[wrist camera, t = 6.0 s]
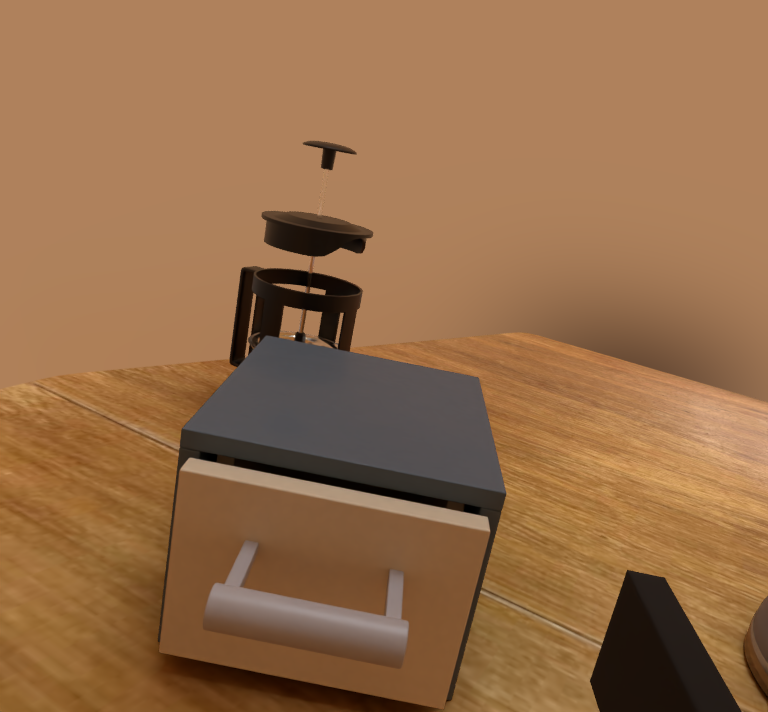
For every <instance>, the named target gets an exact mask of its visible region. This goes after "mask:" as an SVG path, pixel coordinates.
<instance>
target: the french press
mask: <svg viewBox="0 0 768 712" xmlns="http://www.w3.org/2000/svg"><path fill="white" fill-rule="evenodd" d="M303 144H304V145H308V146H313V147H318V148H323V155H322V164H321V168H323V169H324V175H323V181H322V188H321V194H320V200H319V206H318V213H317V214H312V213H304V212H279V211H265V212H263V213H262V218H263V219H265V220H267V222H266V230H265V238H264V242H266V243H267V244H269V245H271V246H273V247H276V248H279V249H282V250H286V251H290V252H294V253H298V254H302V255H307V256H311V257H310V264H309V271H308V272H307V271H301V270H293V269H278V268H277V269H276V268H270V269H264V268H260V267H257V266H253V267H244V268H242V270H241V275H240V283H239V291H238V298H237V307H236V314H235V322H234V330H233V337H232V345H231V352H230V364H231V365H233V366H236V367H238V366H239V365H240V364H241V363H242V362H243V361H244V359H245V350H246V343H247V336H248V328H249V321H250V313H251V306H252V299H253V293H255V294H256V303H255V310H254V317H253V324H252V331H251V336H250V337H249V339H248V341H249V343H250V346H249V353H248V355H249V354H250V353H251V352H252V351H253V350H254V348H255V347H256V346H257V345H258V344H259V343H260V342H261V341H262V340H263V338H264V337H265V336H272V337H277V338H282V339H287V340H292V341H298V342H303V343H308V344H313V345H318V346H323V347H328V348H333V349H338V350H343V351H348V352H349V351H350V345H351V340H352V335H353V329H354V324H355V318H356V312H357V309H359V308H360V303H361V297H362V289H361V288H360V287H358V286H357V285H355V284H353V283H350V282H348V281H345V280H342V279H339V278H336V277H332V276H328V275H324V274H319V273H313V266H314V260H315V257H316V256H325V255H328V254H330V253H332V252H334V251H336V250H337V249H339V248H344V249H347V250H350V251H353V252H355V253H363V251H364V249H365V243H366V238H371V237H372V236H373V232H372V231H370V230H369V229H366V228H364V227H361V226H357V225H354V224H351V223H349V222H347V221H344V220H340V219H337V218H332V217H328V216H323V215H322V210H323V204H324V198H325V191H326V185H327V178H328V172H329V170H332V169H333V164H334V159H335V155H336V151H339V152H344V153H350V154H356V152H355V151H353V150H352V149H350V148H347V147H344V146H341V145H337V144H333V143H327V142H320V141H307V142H304V143H303ZM274 283H275V284H279V283H280V284H293V285H301V286H306V289H305V292H300V291H295V290H291V289H286V288H282V287H279V286H276V285H273V284H274ZM310 287H313V288H318V289H323V290H326V294H325V295H319V294H312V293H309V292H310ZM284 306H288V307H293V308H298V309H302V315H301V321H300V328H299V332H287V331H280V329H281V322H282V315H283V308H284ZM307 310H310V311H317V312H322V317H321V324H320V330H319V335H318V337H317V336H313V335H309V334H305V333H304V332H303V329H304V323H305V317H306V311H307ZM343 312H344V315H343V321H342V327H341V332H340V338H339V343H338V344H337V343H335V339H336V334H337V328H338V323H339V317H340V313H343Z"/></svg>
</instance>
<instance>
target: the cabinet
mask: <svg viewBox="0 0 768 712" xmlns="http://www.w3.org/2000/svg"><path fill="white" fill-rule="evenodd" d="M217 455H222V456H227V457H232V458H237V459H242V460H247V461H252V462H257V463H262V464H267V465H272V466H277V467H282V468H287V469H292V470H297V471H302V472H307V473H312V474H317V475H322V476H327V477H332V478H337V479H342V480H347V481H352V482H357V483H362V484H367V485H372V486H377V487H382V488H387V489H392V490H397V491H402V492H407V493H412V494H417V495H422V496H427V497H432V498H437V499H442V500H447V501H452V502H457V503H462V504H465V507H464V511H463V512H465V513H470V514H475V515H480V516H485V517H488V521H489V527H490V536H489V539H488V543H487V547H486V551H485V555H484V558H483V562H482V566H481V570H480V574H479V577H478V581H477V585H476V589H475V593H474V596H473V600H472V604H471V608H470V612H469V615H468V619H467V623H466V627H465V631H464V634H463V638H462V642H461V646H460V650H459V653H458V657H457V661H456V665H455V669H454V672H453V676H452V680H451V684H450V688H449V691H448V695H447V699H446V700H452V696H453V692H454V689H455V684H456V681H457V677H458V673H459V670H460V666H461V662H462V658H463V655H464V651H465V647H466V643H467V639H468V636H469V632H470V628H471V624H472V621H473V617H474V613H475V609H476V606H477V602H478V598H479V594H480V591H481V587H482V583H483V579H484V576H485V572H486V568H487V564H488V560H489V557H490V553H491V549H492V545H493V542H494V538H495V534H496V530H497V527H498V523H499V519H500V515H501V511H502V508H503V504H504V501H505V497H506V490H505V486H504V482H503V477H502V473H501V469H500V465H499V461H498V456H497V452H496V448H495V444H494V440H493V436H492V431H491V427H490V423H489V419H488V415H487V410H486V406H485V402H484V398H483V394H482V390H481V385H480V381H479V378H478V377H474V376H469V375H464V374H459V373H454V372H449V371H444V370H439V369H434V368H429V367H423V366H418V365H413V364H408V363H403V362H398V361H393V360H388V359H383V358H378V357H373V356H368V355H363V354H358V353H353V352H348V351H343V350H338V349H333V348H328V347H323V346H318V345H313V344H308V343H303V342H298V341H292V340H287V339H282V338H277V337H272V336H265V337H264V338H263V340H262V341H261V342H260V343H259V344H258V345H257V346H256V347H255V348H254V350H253V351H252V352H251V353H250V354H249V355H248V356H247V357H246V358H245V359H244V361H243V362H242V363H241V364H240V365H239V366H238V367H237V368H236V369H235V371H234V372H233V373H232V374H231V375H230V376H229V377H228V378H227V379H226V380H225V382H224V383H223V384H222V385H221V386H220V387H219V388H218V389H217V390H216V391H215V393H214V394H213V395H212V396H211V397H210V398H209V399H208V400H207V401H206V403H205V404H204V405H203V406H202V407H201V408H200V409H199V410H198V411H197V412H196V414H195V415H194V416H193V417H192V418H191V419H190V420H189V421H188V422H187V423H186V425H185V426H184V427H183V428H182V431H181V440H180V449H179V458H178V466H177V475H176V484H175V493H174V502H173V511H172V519H171V528H170V537H169V546H168V555H167V564H166V573H165V581H164V590H163V599H162V608H161V617H160V626H159V634H158V642H160V638H161V629H162V620H163V611H164V603H165V594H166V585H167V576H168V568H169V559H170V550H171V541H172V533H173V524H174V515H175V506H176V498H177V489H178V480H179V471H180V469H181V467H182V466H183V465H184V464H185V462H186V461H187V460H188V459H189V458H195V459H200V460H205V461H210V462H215V463H216V461H217Z"/></svg>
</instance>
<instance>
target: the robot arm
mask: <svg viewBox="0 0 768 712" xmlns="http://www.w3.org/2000/svg"><path fill="white" fill-rule="evenodd" d="M744 650H745V655H746V659H747V662H748V665H749V667H750V669H751V671H752V673H753V675H754V677H755V679H756V680H757V682H758V684H759V685H760V687H761V688H762V689H763V691H764V692H765V694H766V695H767V696H768V596H767V597H766V598H765V599H764V601H763V602H762V604H761V605H760V607H759V608H758V610H757V611H756V612H755V614H754V616H753V619H752V621H751V624H750V626H749V629H748V631H747V633H746V636H745V641H744ZM590 683H591V686H592V689H593V692H594V695H595V698H596V701H597V705H598V708H599V711H600V712H741V710H740V708H739V706H738V705H737V703H736V701H735V699H734V698H733V696H732V694H731V693H730V691H729V689H728V687H727V686H726V684H725V682H724V680H723V679H722V677H721V675H720V673H719V672H718V670H717V668H716V666H715V665H714V663H713V661H712V659H711V658H710V656H709V654H708V652H707V651H706V649H705V647H704V646H703V644H702V642H701V640H700V639H699V637H698V635H697V633H696V632H695V630H694V628H693V626H692V625H691V623H690V621H689V619H688V618H687V616H686V614H685V612H684V611H683V609H682V607H681V605H680V604H679V602H678V600H677V599H676V597H675V595H674V593H673V592H672V590H671V588H670V586H669V585H668V583H667V581H666V579H665V578H664V577H659V576H654V575H649V574H644V573H639V572H634V571H629V570H627V572H626V575H625V578H624V581H623V584H622V587H621V590H620V593H619V596H618V599H617V602H616V605H615V608H614V611H613V614H612V617H611V620H610V623H609V626H608V629H607V632H606V635H605V638H604V641H603V644H602V647H601V650H600V653H599V656H598V659H597V662H596V665H595V668H594V671H593V674H592V677H591V680H590Z"/></svg>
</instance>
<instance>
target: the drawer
mask: <svg viewBox="0 0 768 712" xmlns="http://www.w3.org/2000/svg"><path fill="white" fill-rule="evenodd" d="M464 507H465V504H462V503H457V502H452V501H447V500H442V499H437V498H432V497H427V496H422V495H417V494H412V493H407V492H402V491H397V490H392V489H387V488H382V487H377V486H372V485H367V484H362V483H357V482H352V481H347V480H342V479H337V478H332V477H327V476H322V475H317V474H312V473H307V472H302V471H297V470H292V469H287V468H282V467H277V466H272V465H267V464H262V463H257V462H252V461H247V460H242V459H237V458H232V457H227V456H222V455H217V461H216V463H215V462H210V461H205V460H200V459H195V458H189V459H188V460H187V461H186V462H185V464H184V465H183V466H182V467H181V469H180V471H179V480H178V489H177V498H176V506H175V515H174V524H173V533H172V541H171V550H170V559H169V568H168V576H167V585H166V594H165V603H164V611H163V620H162V629H161V638H160V646H159V652H160V653H164V654H169V655H174V656H179V657H184V658H189V659H194V660H199V661H204V662H209V663H214V664H219V665H224V666H229V667H234V668H239V669H244V670H249V671H254V672H259V673H264V674H269V675H274V676H279V677H284V678H289V679H294V680H299V681H303V682H308V683H313V684H318V685H323V686H328V687H333V688H338V689H343V690H348V691H353V692H358V693H363V694H368V695H373V696H378V697H383V698H388V699H393V700H398V701H403V702H408V703H413V704H418V705H423V706H428V707H433V708H438V709H444V707H445V703H446V699H447V695H448V691H449V688H450V684H451V680H452V676H453V672H454V669H455V665H456V661H457V657H458V653H459V650H460V646H461V642H462V638H463V634H464V631H465V627H466V623H467V619H468V615H469V612H470V608H471V604H472V600H473V596H474V593H475V589H476V585H477V581H478V577H479V574H480V570H481V566H482V562H483V558H484V555H485V551H486V547H487V543H488V539H489V536H490V527H489V521H488V517H485V516H480V515H475V514H470V513H465V512H463V511H464Z"/></svg>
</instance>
